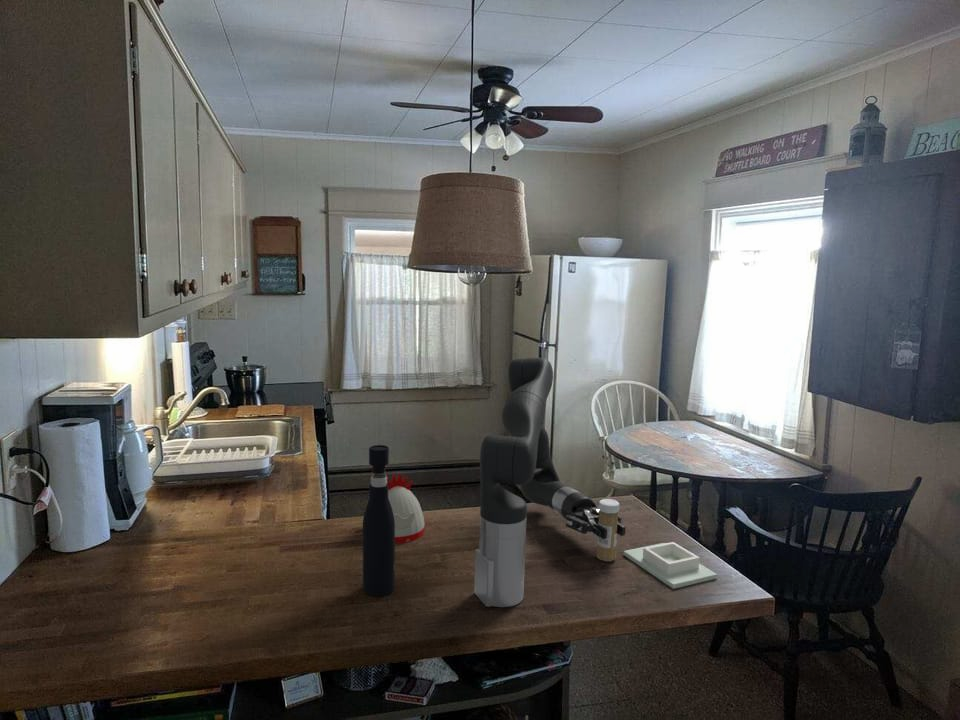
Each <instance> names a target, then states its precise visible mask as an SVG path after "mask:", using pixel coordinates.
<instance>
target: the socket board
mask: <svg viewBox="0 0 960 720" xmlns="http://www.w3.org/2000/svg"><path fill="white" fill-rule="evenodd" d="M623 556H625V557H626V558H627V559H629V560H630V561H632V562H633V563H635V564H636V565H638V566H639V567H641V568H642V569H643V570H645V571H646V572H647V573H650V574H651V576H654V578H655V577H656V578H657V579H658V580H659V581H662V583H664V584H665V585H667V586H668V587H670V588H671V589H672V590H674V589H679V588H684V587H687V586H690V585H691V586H692V585H696V584H699V583H704V582H709V581H712V580H716V579H718V573H716V572H714V571H712V570H711V569H709V568H707V567H706V566H704V565H703V564H701V563H700V559H701V558H700V556H698V555H696V554H695V553H692V552H691V551H690V550H687V549H686V548H684V547H682V546H681V545H680V544H677V543H676V542H674V541H671V542H667V543H666V542H660V543H656V544H651V545H646V546H641V547H637V548H632V549H628V550H623Z"/></svg>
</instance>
